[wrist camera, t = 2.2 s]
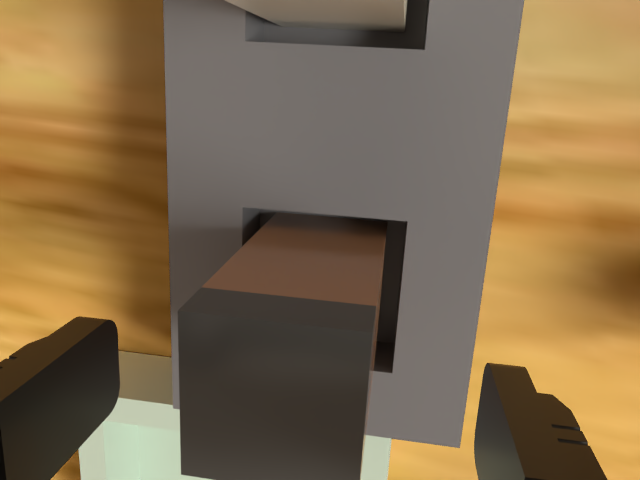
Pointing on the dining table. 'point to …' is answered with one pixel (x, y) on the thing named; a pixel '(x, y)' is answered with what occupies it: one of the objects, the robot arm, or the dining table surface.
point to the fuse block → (350, 170)
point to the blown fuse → (283, 353)
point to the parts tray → (163, 430)
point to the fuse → (331, 13)
